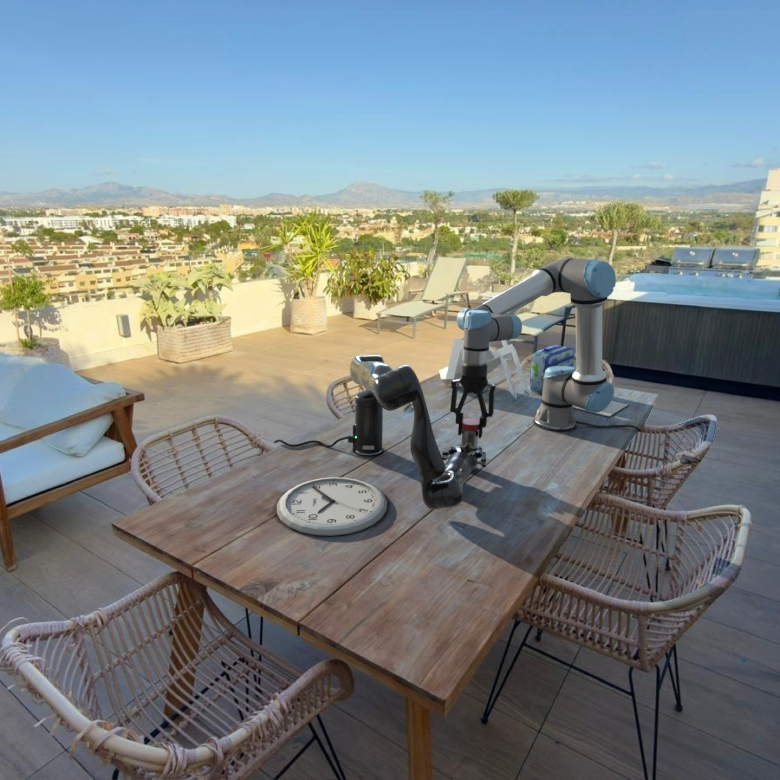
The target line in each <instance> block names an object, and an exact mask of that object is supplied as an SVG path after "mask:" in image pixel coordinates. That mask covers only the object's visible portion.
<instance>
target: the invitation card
mask: <svg viewBox="0 0 780 780" xmlns="http://www.w3.org/2000/svg"><path fill="white" fill-rule="evenodd" d="M628 406H629V404H627V403H623V402H618V401H614V400H611V402H610V403H609V405H608V406H607V407H606V408H605V409H604V410H603V411H601V412H597V413H596V412H591V411H586V410H585V409H582V408H580V407H577V406H574V407H573V409H575V410H581V411H584V412H587V413H593V414H596V415H600V416H604V417H608V418H609V417H611V416H613V415H614V414H616V413H617V412H619V411H621V410H623V409H624V408H626V407H628Z"/></svg>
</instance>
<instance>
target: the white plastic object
mask: <svg viewBox="0 0 780 780" xmlns="http://www.w3.org/2000/svg"><path fill="white" fill-rule="evenodd" d="M463 345H464V338H460V339H458V338H454V340H453V344H452V349H451V353H450V357H449V362H448V366H446V367H444V368H442V369H440V370H439V371H438V372H439V376H440V381H442V383H443V384H444V385H445V386H449V385H451V382H452V381H453V380H454V379H455V380H459V379H460V378H461V376H462V364H463V363H464V362H463V361H462V359H463ZM501 345H502V347H500V348H498V349H496V350H495V349H493V348H492V347H491V346H490V344H489V353H488V362H487V363H486V364H487V365H488V367H487V375H489V374H490V373H492V372H494V371H495V370H496V369H497V368H499V367H500V366H502V370H503V373H504V376H505V380H506V383H507V386H508V390H509V393H510V394H511V395H512V397H513V398H514V399H515V400H517V392H516V391H517V390H516V388H515V385H514V381H513V378H512V375H511V371H510V369H509V365H508V361H510V360H513V363H514V366H515V369H516V372H517V376H518V380H519V382H520V385H521V389H522V391H523V393H524V395H525V396H526V397H528V396H531V395H530V389H529V388H528V387H529V386H528V384H527V381H526V378H525V375H524V371H523V369H522V368H523V367H522V366H521V362H520V359H519V355H518V352H517V349H516V347H515V346H514V345H513V343H511V344H508V340H503V341H501Z"/></svg>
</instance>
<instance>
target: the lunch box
mask: <svg viewBox="0 0 780 780" xmlns="http://www.w3.org/2000/svg"><path fill="white" fill-rule="evenodd" d="M574 363H575V348H573V347H571V346H570V347H568V346H563V345H551V346H548V347H544V348H543V349H539V350H536V351H535V352H534V354H533V356H532V358H531V363H530V374H529V391H532V392H536V393H540V394H542V391H543V380H544V379H543V378H544V375H545V370H546V369H547V368H549V367H555V366H570V367H574Z"/></svg>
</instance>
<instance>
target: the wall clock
mask: <svg viewBox="0 0 780 780" xmlns="http://www.w3.org/2000/svg"><path fill="white" fill-rule="evenodd" d="M387 509H388V500H387V498H386V496H385V494H384V493H383V492H382V491H381V490H380V489H379V488H377V487H376V486H374V485H372V484H371V483H369V482H365V481H362V480H359V479H355V478H349V477H338V476H337V477H335V476H333V477H332V476H331V477H322V478H317V479H312V480H307V481H305V482H302V483H299V484H297V485H295V486H293V487H292V488H290V489H288V490H287V491H286V492H285V493H284V494H283V495H281V496H280V498H279V499H278V502H277V503H276V515H277V517H278V518H279V520H280V521H281V522H282V523H283V524H285V525H286V526H287V527H288V528H290V529H293V530H295V531H297V532H299V533H303V534H308V535H312V536H327V537H328V536H329V537H331V536H332V537H333V536H342V535H350V534H352V533H356V532H361V531H363V530H366V529H368V528H369V527H372V526H373V525H375V524H376V523H378V522H379V521H380V520H381V519H382V518H383V517H384V516H385V514H386V512H387Z"/></svg>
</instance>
